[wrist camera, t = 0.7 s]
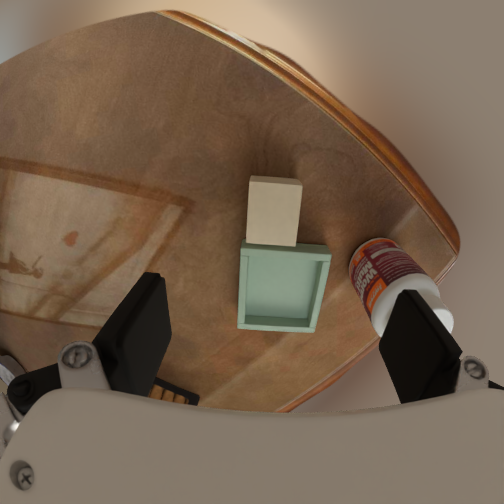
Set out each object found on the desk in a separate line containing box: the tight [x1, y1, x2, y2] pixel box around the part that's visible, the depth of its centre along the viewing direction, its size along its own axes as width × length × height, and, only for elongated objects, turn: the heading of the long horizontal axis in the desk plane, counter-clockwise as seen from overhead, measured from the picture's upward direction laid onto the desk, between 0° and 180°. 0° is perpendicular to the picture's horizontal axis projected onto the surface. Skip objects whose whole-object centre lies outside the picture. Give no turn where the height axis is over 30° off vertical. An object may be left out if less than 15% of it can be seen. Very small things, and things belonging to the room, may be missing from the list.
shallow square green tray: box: [237, 239, 332, 332], centre depth 26 cm, size 9×8×2 cm
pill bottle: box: [349, 238, 454, 337], centre depth 20 cm, size 6×6×11 cm
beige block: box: [246, 175, 303, 247], centre depth 22 cm, size 5×4×3 cm
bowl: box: [0, 355, 26, 386], centre depth 39 cm, size 13×13×5 cm
